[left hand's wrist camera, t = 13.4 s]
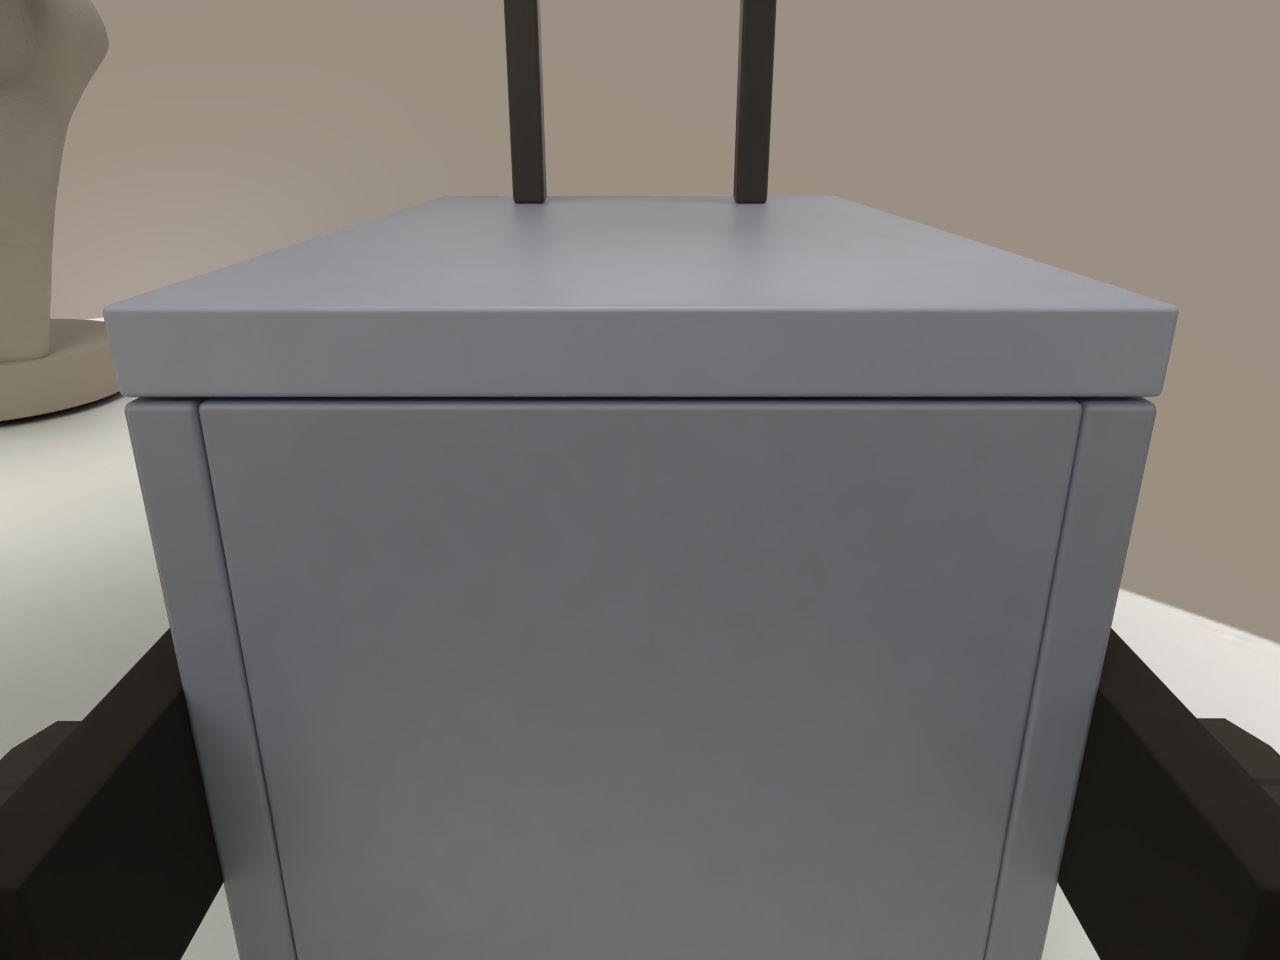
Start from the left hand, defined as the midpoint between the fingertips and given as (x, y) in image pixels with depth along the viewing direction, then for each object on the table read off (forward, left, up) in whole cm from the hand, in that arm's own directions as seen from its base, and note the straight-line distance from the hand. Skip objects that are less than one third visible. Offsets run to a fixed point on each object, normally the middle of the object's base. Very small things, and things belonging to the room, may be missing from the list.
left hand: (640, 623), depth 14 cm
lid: (+3, -3, +5) cm, 6 cm away
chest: (+3, -3, -6) cm, 7 cm away
